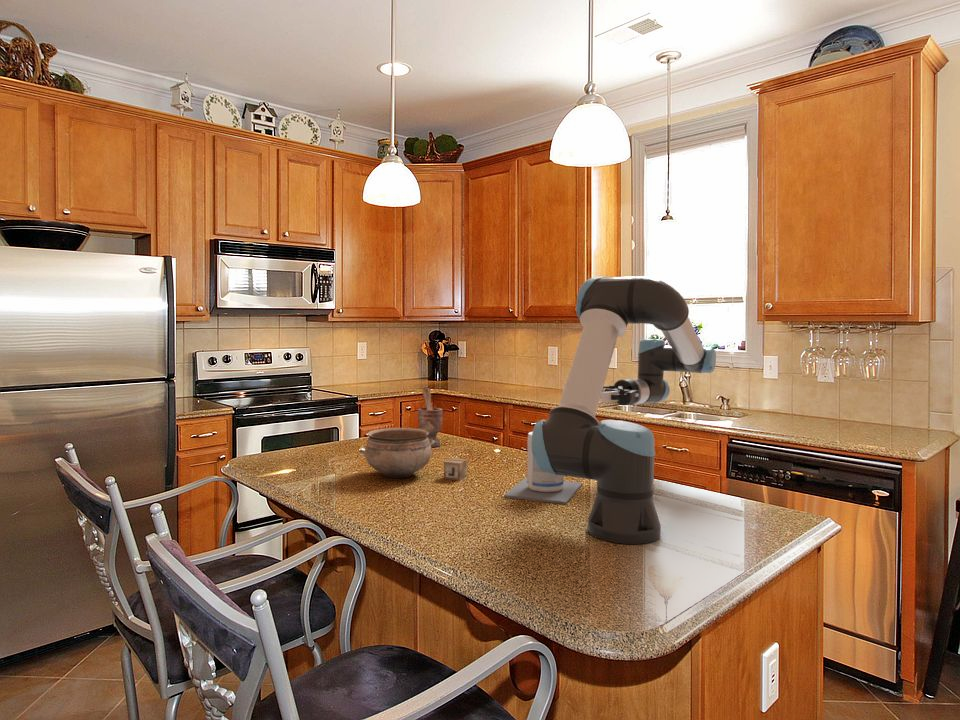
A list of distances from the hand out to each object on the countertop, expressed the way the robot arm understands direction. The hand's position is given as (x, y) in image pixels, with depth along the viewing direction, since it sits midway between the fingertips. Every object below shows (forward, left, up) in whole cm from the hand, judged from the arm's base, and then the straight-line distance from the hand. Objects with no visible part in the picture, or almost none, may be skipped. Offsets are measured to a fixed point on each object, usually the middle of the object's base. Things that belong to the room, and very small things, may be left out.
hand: (581, 395), depth 176 cm
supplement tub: (-10, +7, -24) cm, 27 cm away
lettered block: (-6, +34, -25) cm, 43 cm away
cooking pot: (-10, +50, -25) cm, 57 cm away
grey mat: (-10, +7, -25) cm, 28 cm away
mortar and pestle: (+34, +61, -25) cm, 75 cm away
